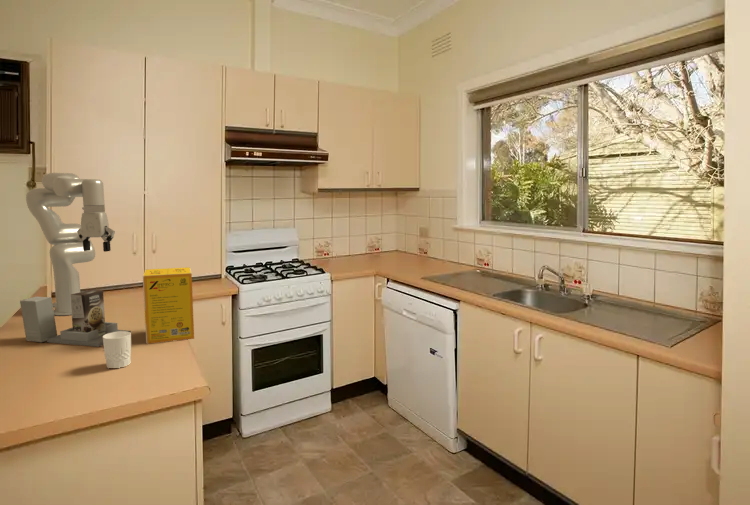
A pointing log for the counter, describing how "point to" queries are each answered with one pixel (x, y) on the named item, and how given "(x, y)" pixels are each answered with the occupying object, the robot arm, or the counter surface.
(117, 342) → the white cup
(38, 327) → the skincare box
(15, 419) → the counter surface
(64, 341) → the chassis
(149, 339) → the packaging box
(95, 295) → the coffee box
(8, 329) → the counter surface
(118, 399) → the counter surface
